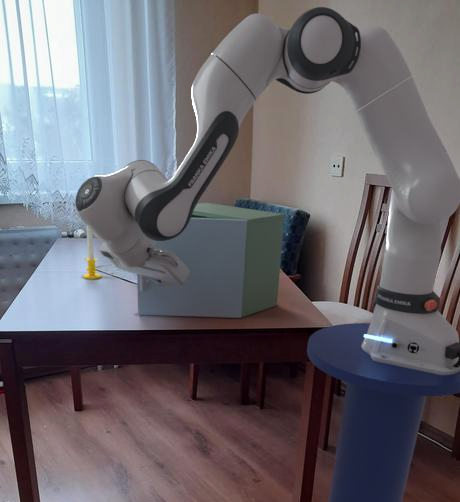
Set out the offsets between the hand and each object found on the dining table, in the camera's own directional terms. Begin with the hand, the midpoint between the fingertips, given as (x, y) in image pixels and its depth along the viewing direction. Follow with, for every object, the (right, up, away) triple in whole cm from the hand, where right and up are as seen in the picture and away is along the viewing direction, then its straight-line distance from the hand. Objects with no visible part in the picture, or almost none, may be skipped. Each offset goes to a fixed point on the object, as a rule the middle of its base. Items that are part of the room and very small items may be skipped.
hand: (165, 283), depth 128 cm
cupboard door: (+5, -6, +10) cm, 13 cm away
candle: (-28, +12, +43) cm, 52 cm away
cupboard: (+13, +1, +26) cm, 29 cm away
